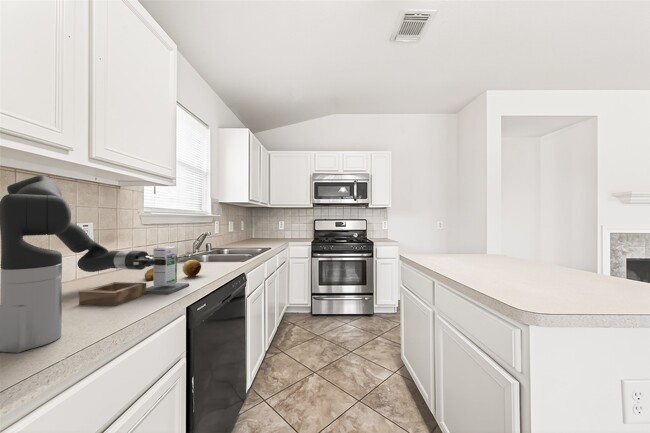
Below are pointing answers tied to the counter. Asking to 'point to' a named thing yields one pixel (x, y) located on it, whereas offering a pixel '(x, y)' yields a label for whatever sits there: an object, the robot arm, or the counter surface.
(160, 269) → the syrup box
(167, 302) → the counter surface
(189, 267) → the fruit
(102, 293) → the walnut holder
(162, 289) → the charcoal mat
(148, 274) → the croissant
